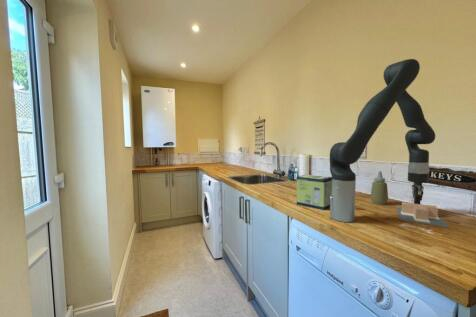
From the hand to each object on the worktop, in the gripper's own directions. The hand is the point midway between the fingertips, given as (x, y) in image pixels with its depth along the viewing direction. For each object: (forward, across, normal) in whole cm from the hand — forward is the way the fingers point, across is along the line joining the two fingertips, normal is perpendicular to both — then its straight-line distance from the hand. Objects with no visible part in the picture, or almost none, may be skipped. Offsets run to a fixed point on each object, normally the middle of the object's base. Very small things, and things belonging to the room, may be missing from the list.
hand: (416, 207), depth 99 cm
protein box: (+2, +14, -44) cm, 46 cm away
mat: (+2, +8, 0) cm, 8 cm away
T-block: (+2, +8, 0) cm, 8 cm away
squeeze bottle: (+2, -7, -15) cm, 17 cm away
